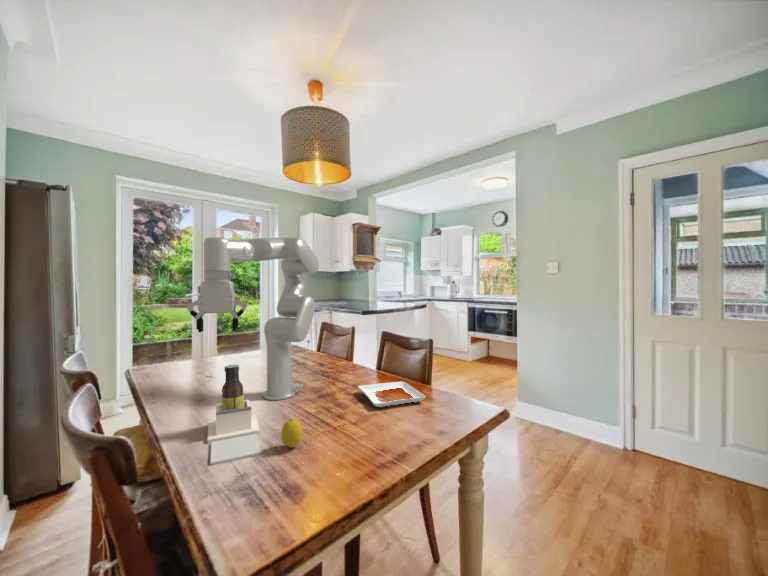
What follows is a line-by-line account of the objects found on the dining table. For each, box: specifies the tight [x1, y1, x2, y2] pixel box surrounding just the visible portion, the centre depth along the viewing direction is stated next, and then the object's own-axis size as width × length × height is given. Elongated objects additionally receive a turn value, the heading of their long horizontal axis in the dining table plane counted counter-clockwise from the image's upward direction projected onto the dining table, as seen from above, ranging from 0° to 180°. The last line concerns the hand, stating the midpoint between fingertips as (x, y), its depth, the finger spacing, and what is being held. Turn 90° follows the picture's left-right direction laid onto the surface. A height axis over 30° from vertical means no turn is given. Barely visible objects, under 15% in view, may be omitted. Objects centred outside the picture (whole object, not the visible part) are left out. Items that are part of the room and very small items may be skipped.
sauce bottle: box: [221, 364, 245, 411], centre depth 103 cm, size 6×6×20 cm
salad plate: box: [357, 381, 426, 408], centre depth 131 cm, size 21×21×3 cm
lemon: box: [281, 418, 303, 449], centre depth 91 cm, size 6×6×8 cm
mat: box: [209, 434, 262, 466], centre depth 91 cm, size 12×12×1 cm
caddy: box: [206, 399, 261, 444], centre depth 103 cm, size 14×14×8 cm
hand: (217, 331), depth 104 cm, fingers open, 9 cm apart
